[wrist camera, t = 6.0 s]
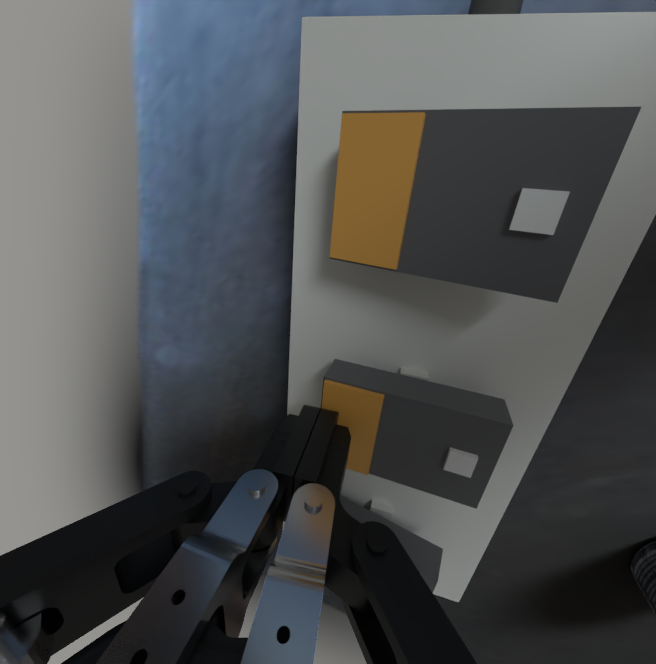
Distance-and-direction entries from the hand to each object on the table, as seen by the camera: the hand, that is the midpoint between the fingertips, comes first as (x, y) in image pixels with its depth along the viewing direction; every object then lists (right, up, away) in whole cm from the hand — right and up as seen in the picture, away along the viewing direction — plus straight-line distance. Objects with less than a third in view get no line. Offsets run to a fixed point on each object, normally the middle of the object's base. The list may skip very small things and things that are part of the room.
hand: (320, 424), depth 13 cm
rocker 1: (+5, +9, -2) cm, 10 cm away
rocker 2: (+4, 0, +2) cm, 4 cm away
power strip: (+5, +2, +5) cm, 8 cm away
